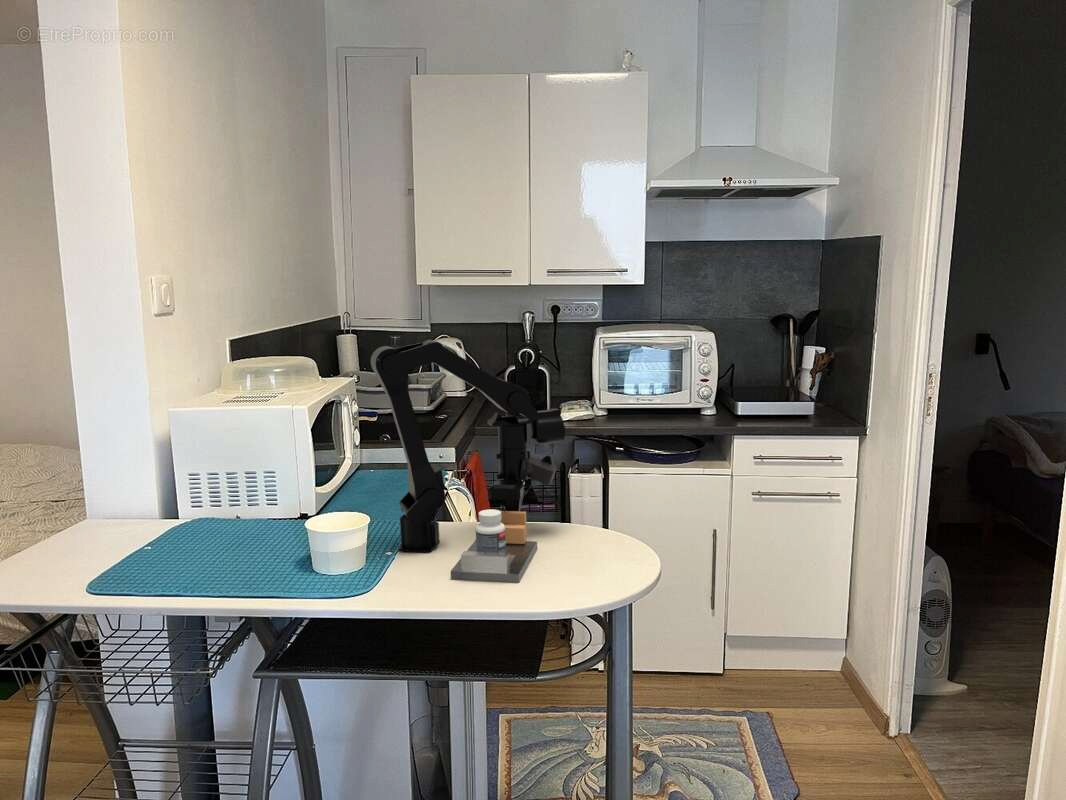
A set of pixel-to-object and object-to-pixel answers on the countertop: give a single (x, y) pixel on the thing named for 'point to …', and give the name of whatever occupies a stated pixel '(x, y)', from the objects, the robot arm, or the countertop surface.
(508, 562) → the silver frame
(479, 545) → the pill bottle
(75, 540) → the countertop surface
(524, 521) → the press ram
